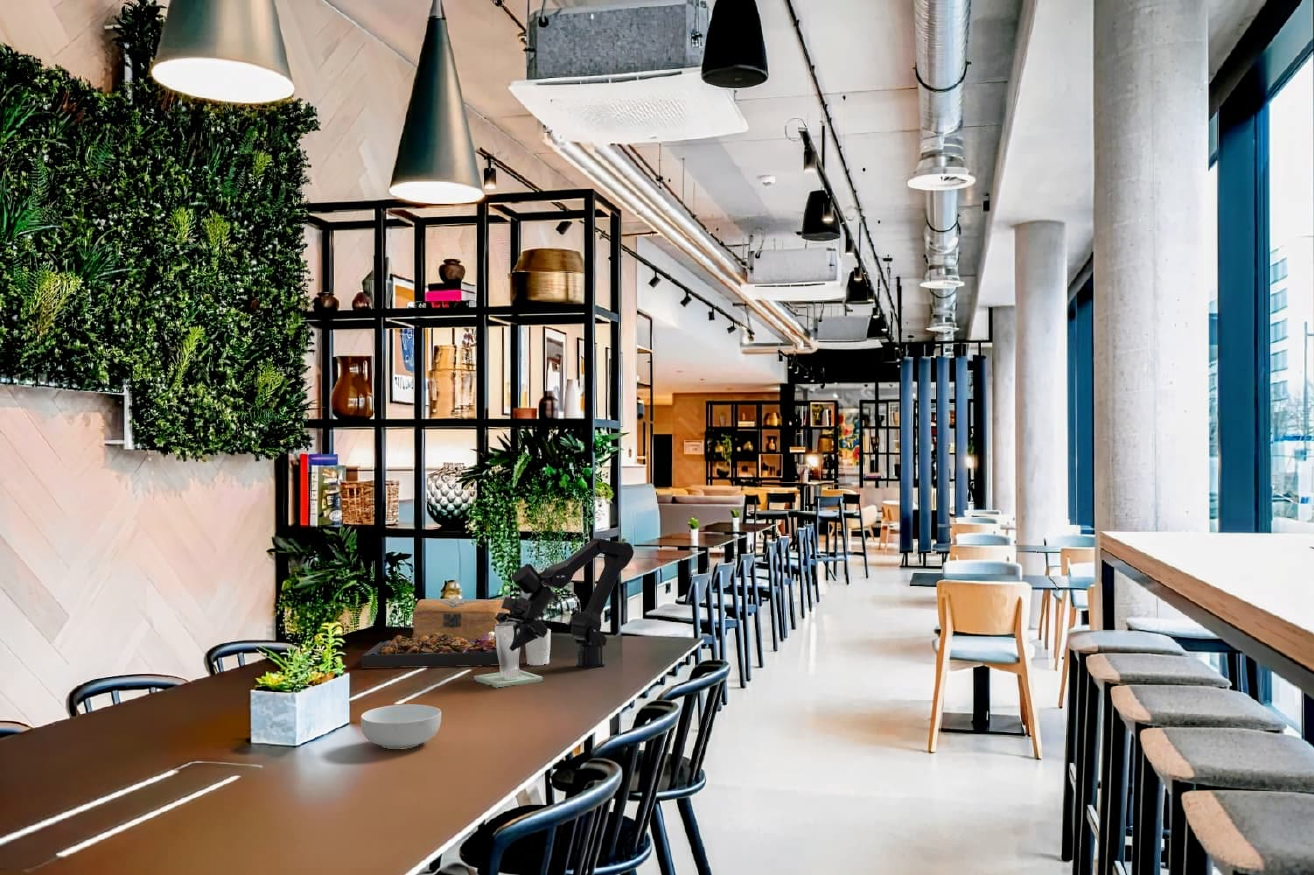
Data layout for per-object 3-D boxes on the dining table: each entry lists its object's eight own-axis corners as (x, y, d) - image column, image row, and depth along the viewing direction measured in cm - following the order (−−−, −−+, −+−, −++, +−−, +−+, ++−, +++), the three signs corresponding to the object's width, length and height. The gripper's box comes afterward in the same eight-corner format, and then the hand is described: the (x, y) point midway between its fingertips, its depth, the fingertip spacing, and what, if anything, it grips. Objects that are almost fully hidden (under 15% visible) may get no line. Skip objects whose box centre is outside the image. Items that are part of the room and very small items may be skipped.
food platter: (520, 652, 345) (520, 620, 346) (512, 667, 321) (512, 632, 321) (380, 656, 344) (379, 623, 344) (361, 671, 320) (360, 636, 320)
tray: (518, 673, 308) (518, 669, 308) (542, 681, 296) (542, 676, 296) (474, 680, 300) (474, 675, 300) (497, 688, 288) (497, 683, 288)
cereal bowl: (370, 760, 220) (370, 725, 220) (353, 742, 235) (353, 709, 235) (451, 748, 228) (450, 715, 228) (429, 732, 243) (429, 700, 243)
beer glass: (505, 674, 303) (502, 621, 303) (527, 675, 300) (523, 621, 300) (492, 680, 297) (488, 626, 296) (514, 681, 294) (510, 626, 293)
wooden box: (410, 643, 365) (410, 602, 365) (429, 635, 381) (429, 596, 382) (495, 644, 360) (494, 603, 360) (510, 636, 376) (510, 596, 376)
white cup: (553, 661, 326) (552, 628, 327) (548, 666, 318) (547, 632, 319) (528, 661, 327) (527, 628, 327) (522, 666, 319) (521, 632, 319)
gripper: (500, 583, 308) (467, 627, 301) (537, 588, 294) (504, 634, 287) (523, 608, 313) (492, 651, 306) (561, 614, 299) (529, 659, 292)
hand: (503, 648), depth 297 cm, fingers closed on beer glass, 7 cm apart
